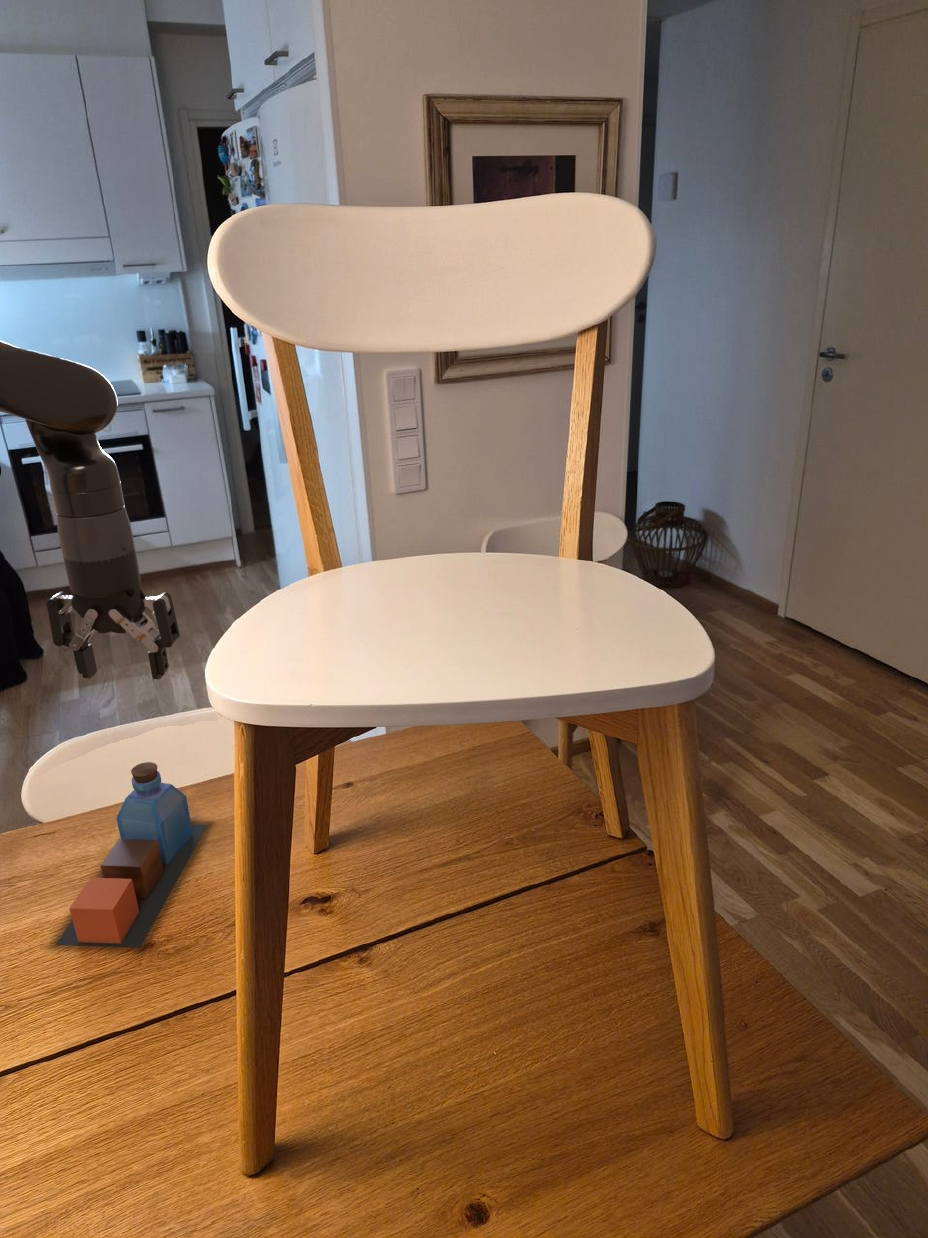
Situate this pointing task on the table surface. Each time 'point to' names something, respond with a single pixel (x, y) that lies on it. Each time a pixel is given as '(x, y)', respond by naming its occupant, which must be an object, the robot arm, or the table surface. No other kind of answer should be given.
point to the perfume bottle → (155, 812)
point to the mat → (153, 899)
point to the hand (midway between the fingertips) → (124, 676)
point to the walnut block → (135, 864)
